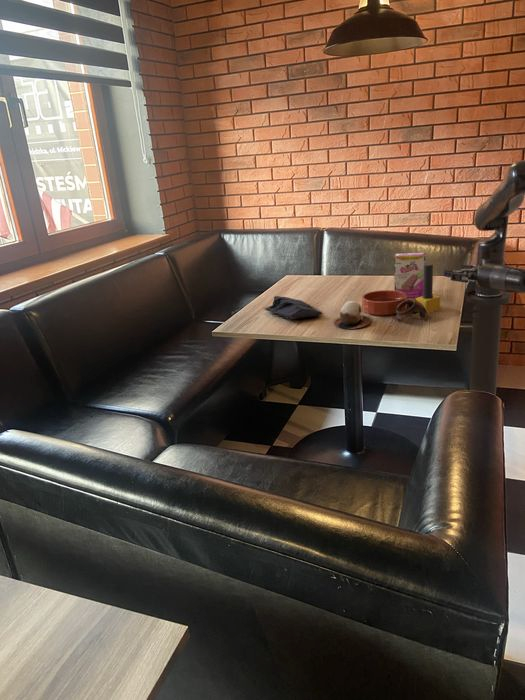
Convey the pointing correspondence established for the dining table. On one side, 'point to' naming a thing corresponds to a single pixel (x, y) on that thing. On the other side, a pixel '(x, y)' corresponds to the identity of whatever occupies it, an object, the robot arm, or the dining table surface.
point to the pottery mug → (411, 309)
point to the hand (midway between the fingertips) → (453, 270)
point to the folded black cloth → (292, 308)
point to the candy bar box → (409, 273)
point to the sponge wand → (429, 291)
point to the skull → (352, 316)
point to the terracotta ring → (383, 302)
